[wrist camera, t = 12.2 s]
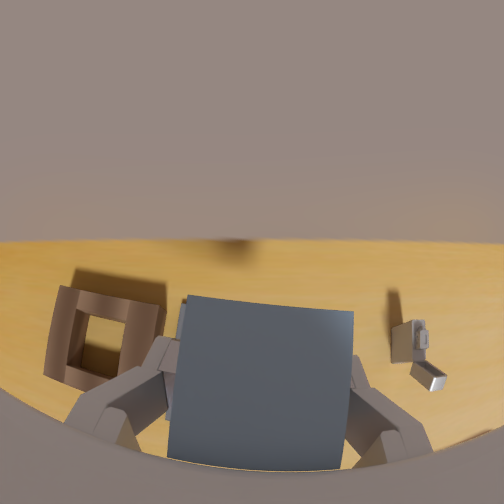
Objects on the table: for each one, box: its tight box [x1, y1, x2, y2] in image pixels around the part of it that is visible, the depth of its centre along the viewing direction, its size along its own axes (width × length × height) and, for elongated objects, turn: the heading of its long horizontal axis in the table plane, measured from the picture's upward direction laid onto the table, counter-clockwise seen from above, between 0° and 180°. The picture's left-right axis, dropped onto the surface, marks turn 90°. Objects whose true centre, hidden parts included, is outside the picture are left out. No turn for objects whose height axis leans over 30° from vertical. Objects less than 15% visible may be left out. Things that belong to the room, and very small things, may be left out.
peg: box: [167, 295, 354, 471], centre depth 9 cm, size 4×4×9 cm
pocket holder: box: [43, 285, 167, 392], centre depth 24 cm, size 12×10×3 cm
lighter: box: [391, 320, 447, 391], centre depth 22 cm, size 7×2×8 cm, turn 175°
